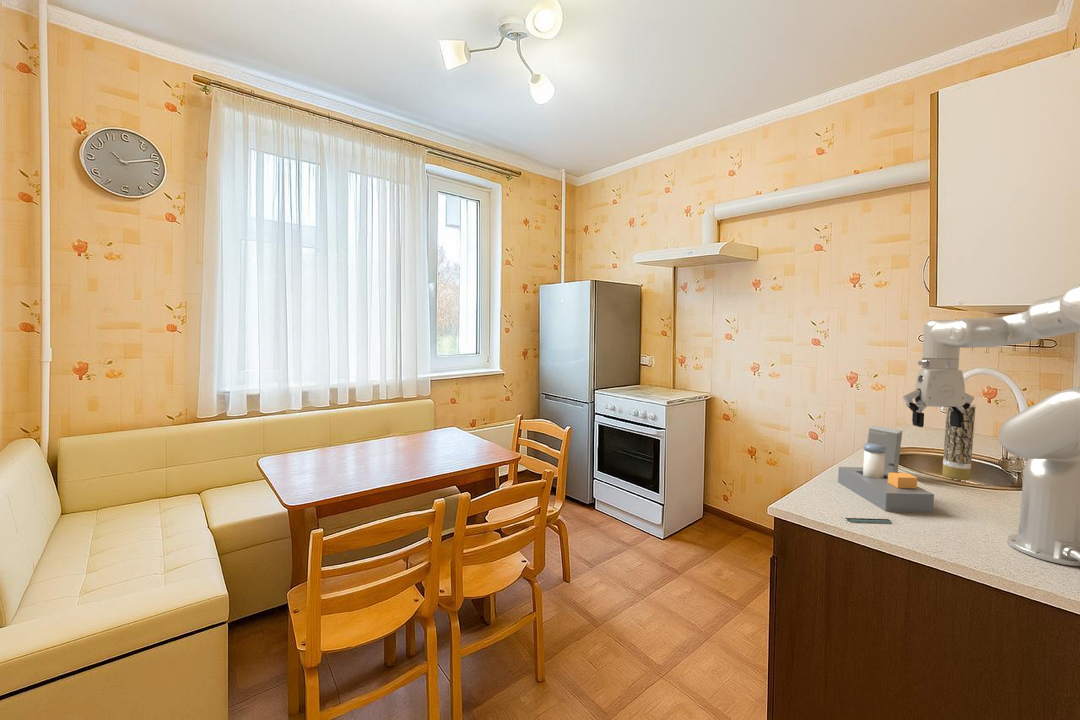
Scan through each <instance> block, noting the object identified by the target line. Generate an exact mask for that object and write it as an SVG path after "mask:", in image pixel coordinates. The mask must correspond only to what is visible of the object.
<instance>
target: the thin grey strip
mask: <svg viewBox="0 0 1080 720" xmlns="http://www.w3.org/2000/svg"><path fill="white" fill-rule="evenodd" d="M845 519H846V520H847V521H848V522H850V523H856V522H858V523H862V524H863V523H864V524H891V525H892V522H893V521H892V520H890V519H889V518H863V517H861V518H860V517H857V518H856V517H845Z"/></svg>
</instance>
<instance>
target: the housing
mask: <svg viewBox="0 0 1080 720" xmlns="http://www.w3.org/2000/svg"><path fill="white" fill-rule="evenodd" d="M837 473H838V475H837V476H838V477H837V483H838V484H840V485H841V486H843V487H844V488H846V489H848V490H850V491H852V492H853V493H854V494H856V495H857V496H859V497H861V498H863V499H864V500H866V501H868V502H870V503H871V504H872V505H874V506H876V507H878V508H879V509H881V510H883V511H884V512H891V513H893V512H894V513H897V512H898V513H925V514H926V513H930V514H933V513H934V502H935V501H934V500H935V494H934V493H932V492H929V491H928V490H926V489H923V488H921V487H920V486H918V485H917V488H897V487H895V486H893V485H891V484H889V483H888V473H889V472H886V471H884V479H875V478H867V477H865V476H863V466H861V467H860V466H859V467H857V466H856V467H855V466H853V467H852V466H838V472H837Z"/></svg>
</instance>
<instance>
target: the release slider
mask: <svg viewBox="0 0 1080 720" xmlns="http://www.w3.org/2000/svg"><path fill="white" fill-rule="evenodd" d="M888 483H889V484H891V485H893V486H895V487H897V488H917V486H918V477H916V476H914V475H912V474H910V473H908V472H898V473H888Z"/></svg>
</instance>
